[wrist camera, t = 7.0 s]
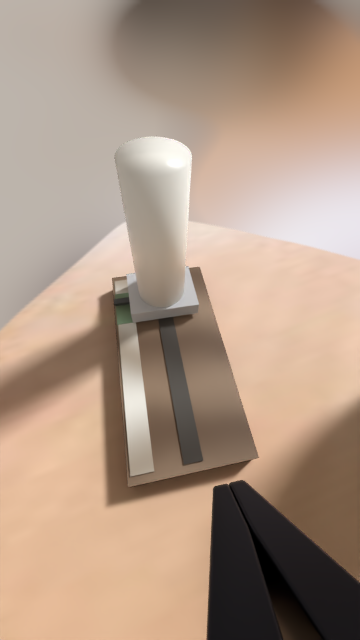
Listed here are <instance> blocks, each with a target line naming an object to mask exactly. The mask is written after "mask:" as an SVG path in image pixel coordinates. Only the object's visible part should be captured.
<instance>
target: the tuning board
mask: <svg viewBox="0 0 360 640" xmlns="http://www.w3.org/2000/svg"><path fill="white" fill-rule="evenodd" d="M189 271H190V274H191V278H192V281H193V285H194V288H195V292H196V295H197V299H198V302H199V308H198V313H194V314H188V315H181V316H174V317H168V318H161V319H155V320H148V321H141V322H135V323H133V320H132V316H131V310H130V304H127V305H120V306H114V309H115V322H116V335H117V348H118V362H119V375H120V388H121V401H122V414H123V428H124V441H125V454H126V467H127V480H128V487H133V486H137V485H142V484H146V483H150V482H155V481H159V480H164V479H168V478H173V477H177V476H182V475H186V474H190V473H195V472H199V471H204V470H208V469H213V468H217V467H222V466H226V465H230V464H235V463H239V462H244V461H248V460H253V459H256V458H259V457H258V453H257V450H256V447H255V444H254V441H253V437H252V434H251V431H250V428H249V425H248V421H247V418H246V415H245V412H244V408H243V405H242V402H241V399H240V396H239V392H238V389H237V386H236V383H235V379H234V376H233V373H232V370H231V367H230V363H229V360H228V357H227V354H226V350H225V347H224V344H223V341H222V338H221V334H220V331H219V328H218V325H217V322H216V318H215V315H214V312H213V309H212V305H211V302H210V299H209V296H208V293H207V289H206V286H205V283H204V280H203V276H202V273H201V270H200V267H194V268H189ZM112 283H113V296H114V299H118V298H125V297H129V293H128V284H127V276H124V277H116V278H112Z"/></svg>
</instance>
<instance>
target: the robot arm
mask: <svg viewBox="0 0 360 640" xmlns="http://www.w3.org/2000/svg"><path fill="white" fill-rule="evenodd" d="M207 640H360V583H359V582H358V581H357V580H356V579H355V578H354V577H353V576H352V575H350V574H349V573H348V572H347V571H346V570H345V569H344V568H343V567H341V566H340V565H339V564H338V563H337V562H336V561H335V560H333V559H332V558H331V557H330V556H329V555H328V554H327V553H326V552H324V551H323V550H322V549H321V548H320V547H319V546H318V545H317V544H315V543H314V542H313V541H312V540H311V539H310V538H309V537H307V536H306V535H305V534H304V533H303V532H302V531H301V530H300V529H298V528H297V527H296V526H295V525H294V524H293V523H292V522H291V521H289V520H288V519H287V518H286V517H285V516H284V515H283V514H281V513H280V512H279V511H278V510H277V509H276V508H275V507H274V506H272V505H271V504H270V503H269V502H268V501H267V500H266V499H264V498H263V497H262V496H261V495H260V494H259V493H258V492H257V491H255V490H254V489H253V488H252V487H251V486H250V485H249V484H248V483H246V482H245V481H243V480H240V481H236V482H231V483H230V484H229V485H228V484H223V485H218V486H215V487H214V488H213V503H212V526H211V549H210V572H209V595H208V617H207Z"/></svg>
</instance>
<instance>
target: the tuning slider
mask: <svg viewBox="0 0 360 640" xmlns="http://www.w3.org/2000/svg"><path fill="white" fill-rule="evenodd" d="M191 162H192V154H191V152H190V150H189V149H188V147H186V146H185V145H184V144H182V143H180V142H178V141H176V140H173V139H169V138H164V137H143V138H137V139H134V140H131V141H128V142H126V143H125V144H123V145H121V146H120V147H119V148H118V149H117V151H116V153H115V163H116V169H117V174H118V179H119V185H120V191H121V196H122V202H123V207H124V213H125V218H126V224H127V229H128V235H129V240H130V246H131V252H132V257H133V263H134V268H135V273H132V274H126V275H127V284H128V293H129V297H125V298H118V299H114V306H120V305H127V304H130V310H131V316H132V320H133V323H135V322H141V321H148V320H155V319H161V318H168V317H174V316H181V315H188V314H194V313H198V308H199V302H198V299H197V295H196V292H195V288H194V285H193V281H192V278H191V274H190V271H189V267H188V266H186V248H187V231H188V214H189V195H190V179H191V178H190V177H191ZM185 266H186V267H185Z"/></svg>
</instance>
